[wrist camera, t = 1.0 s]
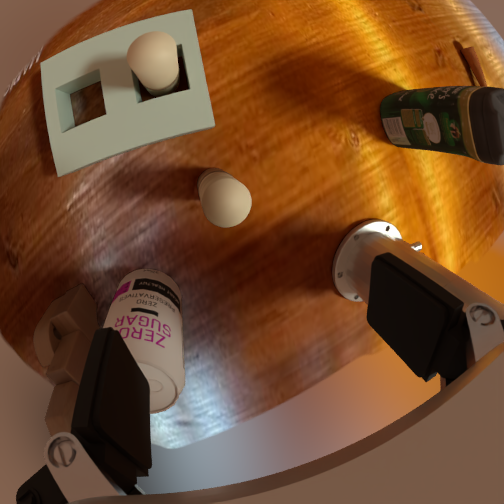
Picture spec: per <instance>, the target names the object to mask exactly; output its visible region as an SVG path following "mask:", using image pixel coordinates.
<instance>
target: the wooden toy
mask: <svg viewBox="0 0 504 504" xmlns="http://www.w3.org/2000/svg"><path fill="white" fill-rule="evenodd" d="M96 310H97V304H96V303H95V301H94V300H93V298H92V297H91V295H90V294H89V292H88V291H87V289H86V288H85V286H84V284H80V285H78V286H76V287H74V288H72V289H70V290H69V291H67V292H66V293H65V295H63V296H61V297H59V298H58V299H56V300H54V301H52V303H51V304H50V306H49V307H48V309H47V310H46V312H45V313H44V315H43V316H42V318H41V319H40V321H39V323H38V324H37V326H36V328H35V331H34V337H33V341H34V348H35V352H36V355H37V357H38V360H39V362H40V364H41V365H42V367H45V366H48V365H50V366H49V368H48V371H47V373H46V375H47V377H48V378H49V379H50V380H51V381H52V382H53V383H54V384H55V385H56V386H55V387H54V390H53V393H52V396H51V399H50V402H49V406H48V409H47V413H46V416H45V422H46V425H47V427H48V430H49V432H50V435H51V437H52V436H54V435H55V434H57V433H61V432H67V433H70V432H71V423H72V417H73V412H74V408H75V403H76V398H77V394H78V390H79V386H80V382H81V378H82V374H83V370H84V367H85V363H86V359H87V356H88V353H89V349H90V346H91V343H92V339H93V336H94V333H95V331H96V330H97V329H100V327H99V324H98V321H97V314H96Z"/></svg>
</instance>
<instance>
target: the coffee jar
mask: <svg viewBox="0 0 504 504" xmlns="http://www.w3.org/2000/svg"><path fill="white" fill-rule="evenodd" d="M380 114H381V121H382V124H383V128H384V130H385V133H386V135H387V137H388V139H389V140H390V142H391V143H392V144H393V145H395V146H397V147H402V148H411V149H421V150H430V151H438V152H445V153H451V154H457V155H462V156H466V157H470V158H473V159H475V160H477V161H480V162H484V163H489V164H496V165H504V89H502V88H495V87H480V86H447V87H434V88H422V89H413V90H405V91H400V92H396V93H393V94H391V95H389V96H387V97H385V98H384V99H383V101H382V102H381V107H380Z"/></svg>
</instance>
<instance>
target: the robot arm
mask: <svg viewBox="0 0 504 504" xmlns="http://www.w3.org/2000/svg"><path fill="white" fill-rule="evenodd" d="M421 249H422V245H421V243H420V242H415V243H413V244H411V245H410V244H409V243H407V242H405V241H403V240H402V237H401V235H400V233H399V231H398V230H397V228H396V227H395V226H393V225H392V224H391V223H389V222H387V221H384V220H380V219H372V220H369V221H365V222H363V223H361V224H359V225H358V226H356V227H355V228H354V229H352V230H351V231H350V232H349V233H348V234H347V235H346V237H345V238H344V239H343V241H342V242H341V244H340V246H339V248H338V249H337V251H336V254H335V257H334V261H333V266H332V277H333V282H334V284H335V287H336V289H337V290H338V291H339V292H340V293H341V294H342V295H343V296H344V297H345V298H347V299H349V300H351V301H364V302H365V303H366V304H367V305H368V309H367V321H368V323H369V325H370V326H371V327H372V328H373V329H374V330H375V331H376V332H377V333H378V334H379V335H380V336H381V337H382V339H383V340H384V341H385V342H386V343H387V344H388V345H389V346H390V347H391V348H392V349H393V350H394V351H395V352H396V354H397V355H398V356H399V357H400V358H401V359H402V360H403V361H404V362H405V363H406V364H407V366H408V367H409V368H410V369H411V370H412V371H413V372H414V373H415V374H416V375H417V376H418V377H422V378H423V379H424V380H425V382H427V381H429V380H430V379H432V378H433V377H435V376H436V374H437V372H438V373H439V374H440V381H441V391H440V392H439V393H437V394H436V395H434V396H433V397H432V398H430V399H429V400H427V401H426V402H425V403H423V404H422V405H420V406H419V407H417V408H416V409H414V410H413V411H411V412H409V413H408V414H406V415H405V416H403V417H401V418H400V419H398V420H396V421H395V422H393V423H391V424H390V425H388V426H386V427H384V428H383V429H381V430H379V431H377V432H375V433H373V434H371V435H370V436H368V437H366V438H364V439H362V440H360V441H358V442H356V443H354V444H351V445H349V446H347V447H345V448H343V449H341V450H338V451H336V452H334V453H331V454H329V455H327V456H324V457H322V458H319V459H317V460H314V461H311V462H309V463H306V464H303V465H300V466H298V467H294V468H292V469H288V470H285V471H283V472H279V473H276V474H272V475H269V476H265V477H261V478H258V479H254V480H250V481H246V482H241V483H237V484H231V485H226V486H221V487H215V488H209V489H202V490H194V491H187V492H177V493H167V494H151V495H150V494H148V495H147V494H146V493H145V492H144V491H143V490H142V489H140V487H139V486H138V485H137V477H143V476H149V475H148V469H150V468H151V467H152V458H151V438H150V386H149V383H148V380H147V379H146V377H145V376H144V374H143V372H142V371H141V369H140V367H139V366H138V364H137V362H136V361H135V359H134V357H133V356H132V354H131V352H130V350H129V349H128V347H127V345H126V343H125V342H124V340H123V338H122V336H121V334H120V332H119V331H118V330H114V329H113V328H112V327H107V328H102V329H97V330H96V331H95V333H94V336H93V339H92V343H91V346H90V349H89V353H88V356H87V359H86V363H85V367H84V370H83V374H82V378H81V382H80V386H79V390H78V394H77V398H76V403H75V408H74V412H73V417H72V423H71V432H70V433H67V432H61V433H57V434H55V435H54V436H52V437H51V438H50V439H49V440H48V442H47V444H46V446H45V450H44V458H45V461H46V465H45V466H43V467H42V468H41V469H40V470H39V471H38V472H37V473H36V474H34V475H33V476H32V477H31V478H30V479H28V480H27V481H26V482H25V483H24V484H23V485H22V486H21V487H20V488H19V489H18V491H17V495H16V501H17V504H504V304H501V303H500V302H498V301H497V300H495V299H493V298H492V297H490V296H489V295H487V294H486V293H484V292H482V291H481V290H479V289H478V288H476V287H475V286H473V285H472V284H470V283H468V282H467V281H466V280H464V279H462V278H461V277H459V276H458V275H456V274H454V273H453V272H451V271H450V270H448V269H447V268H445V267H443V266H442V265H440V264H438V263H437V262H435V261H433V260H432V259H430V258H428V257H427V256H425V254H424V253H420V252H418V251H420V250H421Z"/></svg>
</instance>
